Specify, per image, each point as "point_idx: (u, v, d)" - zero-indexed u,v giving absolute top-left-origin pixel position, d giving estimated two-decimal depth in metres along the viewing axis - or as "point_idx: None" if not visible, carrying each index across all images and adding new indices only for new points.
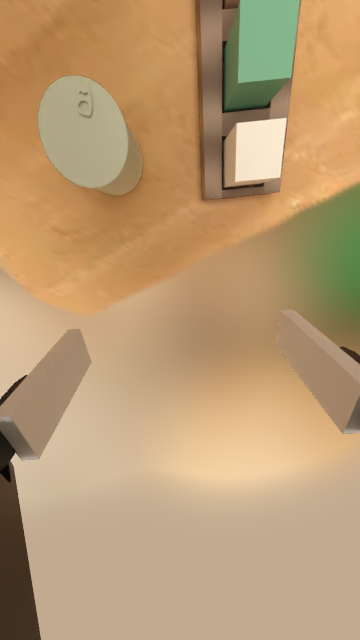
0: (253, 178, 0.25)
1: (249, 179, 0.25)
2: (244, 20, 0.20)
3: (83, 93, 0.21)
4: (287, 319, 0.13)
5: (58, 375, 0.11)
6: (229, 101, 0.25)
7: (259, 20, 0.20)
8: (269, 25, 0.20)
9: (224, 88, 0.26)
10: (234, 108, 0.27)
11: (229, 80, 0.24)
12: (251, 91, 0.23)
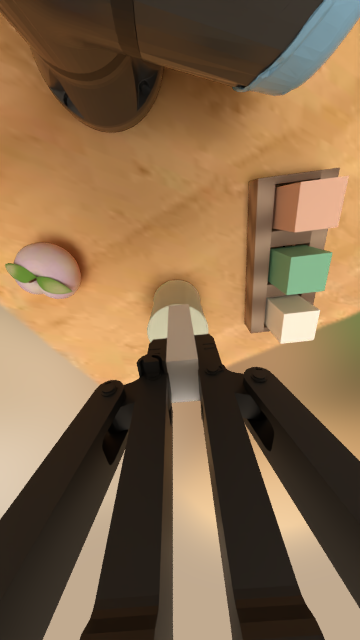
0: (293, 341, 0.34)
1: (290, 341, 0.34)
2: (293, 266, 0.29)
3: None
4: (179, 312, 0.15)
5: None
6: (275, 285, 0.34)
7: (303, 266, 0.29)
8: (310, 267, 0.29)
9: (269, 270, 0.35)
10: None
11: (276, 276, 0.33)
12: None
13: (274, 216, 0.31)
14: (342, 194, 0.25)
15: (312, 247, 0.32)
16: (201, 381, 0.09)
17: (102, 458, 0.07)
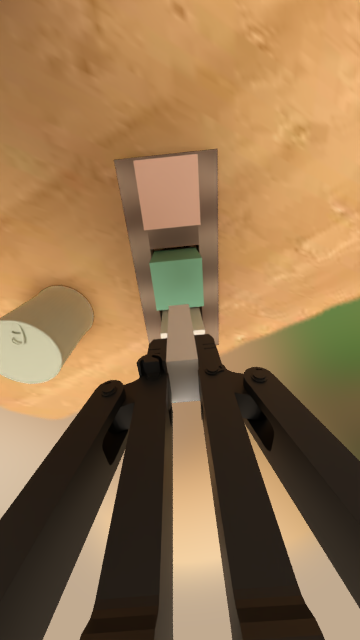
0: None
1: None
2: (155, 274, 0.22)
3: (16, 330, 0.23)
4: (179, 312, 0.15)
5: None
6: None
7: (169, 274, 0.22)
8: (178, 277, 0.22)
9: None
10: None
11: None
12: None
13: None
14: (195, 180, 0.18)
15: (195, 250, 0.25)
16: (201, 381, 0.09)
17: (102, 458, 0.07)
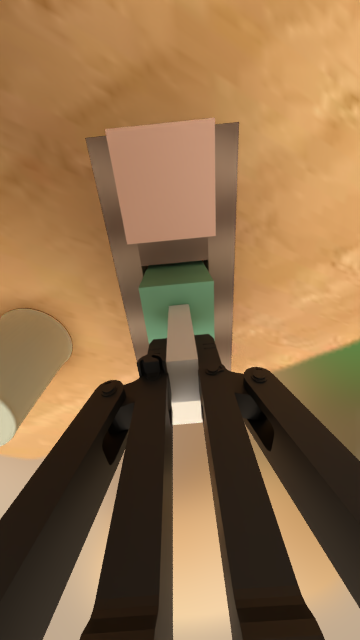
0: (184, 422, 0.21)
1: (179, 423, 0.21)
2: (147, 303, 0.16)
3: None
4: (179, 312, 0.15)
5: None
6: None
7: (166, 303, 0.16)
8: None
9: None
10: None
11: None
12: None
13: None
14: (209, 164, 0.11)
15: (203, 267, 0.19)
16: (201, 381, 0.09)
17: (102, 458, 0.07)
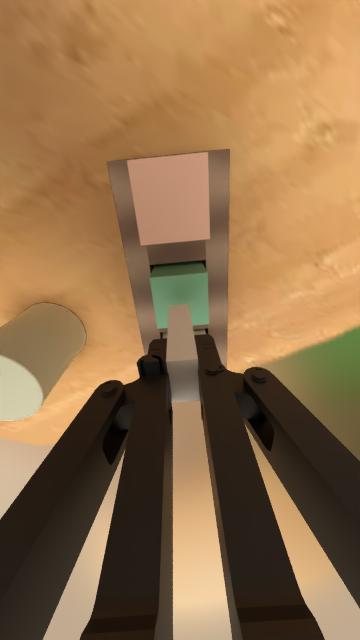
0: None
1: None
2: (156, 290, 0.20)
3: None
4: (179, 312, 0.15)
5: None
6: None
7: (171, 290, 0.20)
8: (181, 293, 0.20)
9: None
10: None
11: None
12: None
13: None
14: (204, 185, 0.15)
15: (200, 263, 0.23)
16: (201, 381, 0.09)
17: (102, 458, 0.07)
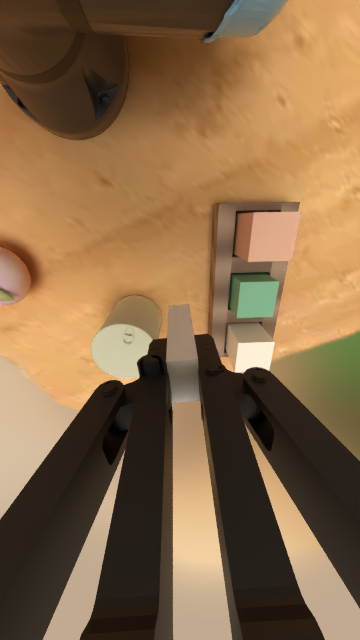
0: None
1: None
2: (242, 291, 0.30)
3: (127, 332, 0.28)
4: (179, 312, 0.15)
5: None
6: None
7: (252, 291, 0.30)
8: (259, 294, 0.30)
9: None
10: None
11: (231, 298, 0.34)
12: None
13: (235, 242, 0.31)
14: (295, 229, 0.24)
15: (265, 274, 0.33)
16: (201, 381, 0.09)
17: (102, 458, 0.07)
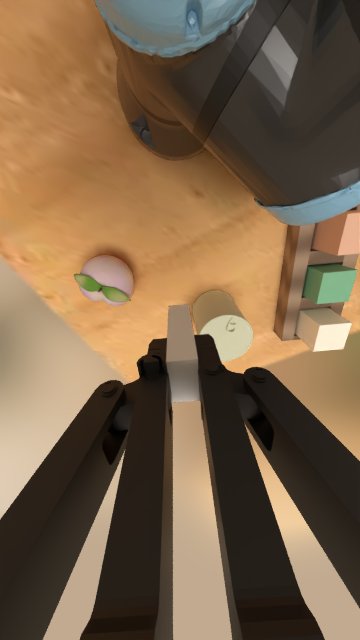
0: (325, 349, 0.38)
1: (322, 350, 0.38)
2: (324, 280, 0.34)
3: (231, 321, 0.33)
4: (179, 312, 0.15)
5: None
6: (303, 295, 0.40)
7: (333, 280, 0.34)
8: (338, 282, 0.34)
9: None
10: None
11: (305, 287, 0.39)
12: None
13: (313, 238, 0.35)
14: None
15: (338, 264, 0.37)
16: (201, 381, 0.09)
17: (102, 458, 0.07)
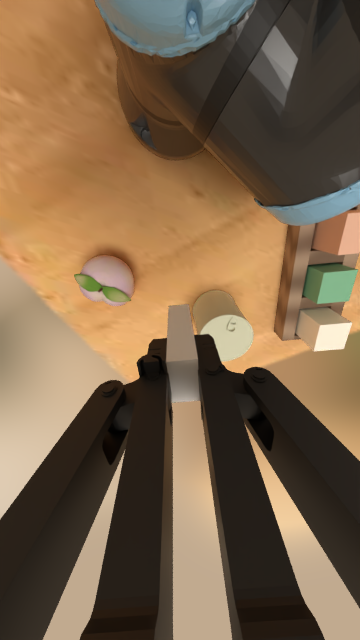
0: (326, 349, 0.38)
1: (323, 349, 0.38)
2: (324, 280, 0.34)
3: (231, 321, 0.33)
4: (179, 312, 0.15)
5: None
6: (304, 295, 0.40)
7: (333, 280, 0.34)
8: (338, 281, 0.34)
9: None
10: None
11: (306, 287, 0.39)
12: None
13: (313, 238, 0.35)
14: None
15: None
16: (201, 381, 0.09)
17: (102, 458, 0.07)
